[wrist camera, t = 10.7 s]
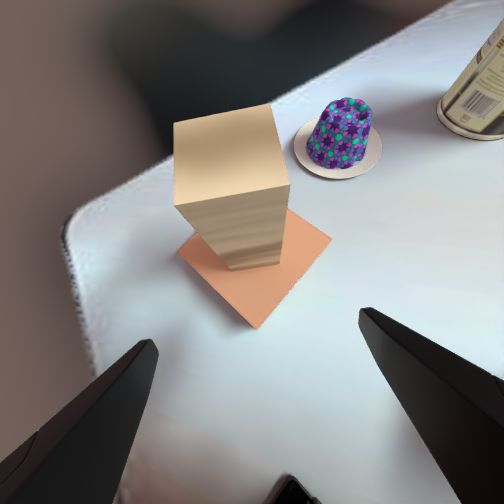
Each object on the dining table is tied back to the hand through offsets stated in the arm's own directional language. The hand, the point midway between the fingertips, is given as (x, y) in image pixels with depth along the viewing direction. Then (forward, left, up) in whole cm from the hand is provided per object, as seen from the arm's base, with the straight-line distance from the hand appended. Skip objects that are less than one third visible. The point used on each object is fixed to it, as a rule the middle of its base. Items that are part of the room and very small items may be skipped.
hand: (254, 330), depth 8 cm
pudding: (+25, +8, -14) cm, 30 cm away
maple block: (+5, +6, -10) cm, 13 cm away
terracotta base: (+5, +6, -13) cm, 16 cm away
